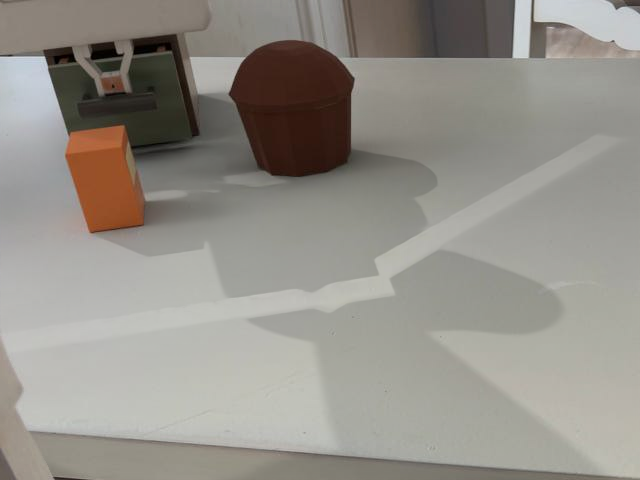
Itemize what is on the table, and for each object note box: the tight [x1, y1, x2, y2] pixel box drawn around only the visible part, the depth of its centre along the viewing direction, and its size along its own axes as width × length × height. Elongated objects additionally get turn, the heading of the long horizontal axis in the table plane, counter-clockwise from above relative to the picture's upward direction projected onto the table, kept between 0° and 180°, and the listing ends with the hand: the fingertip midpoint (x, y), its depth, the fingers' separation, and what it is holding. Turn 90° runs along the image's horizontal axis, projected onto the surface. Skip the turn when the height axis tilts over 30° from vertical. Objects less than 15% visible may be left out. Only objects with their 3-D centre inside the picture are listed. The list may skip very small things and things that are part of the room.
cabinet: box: [42, 33, 201, 136], centre depth 106 cm, size 16×13×10 cm
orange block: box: [64, 125, 146, 233], centre depth 86 cm, size 5×6×6 cm
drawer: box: [47, 42, 193, 148], centre depth 101 cm, size 19×11×8 cm, turn 13°
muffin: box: [227, 39, 356, 177], centre depth 93 cm, size 12×11×10 cm
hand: (116, 94), depth 94 cm, fingers closed, pressing on drawer
